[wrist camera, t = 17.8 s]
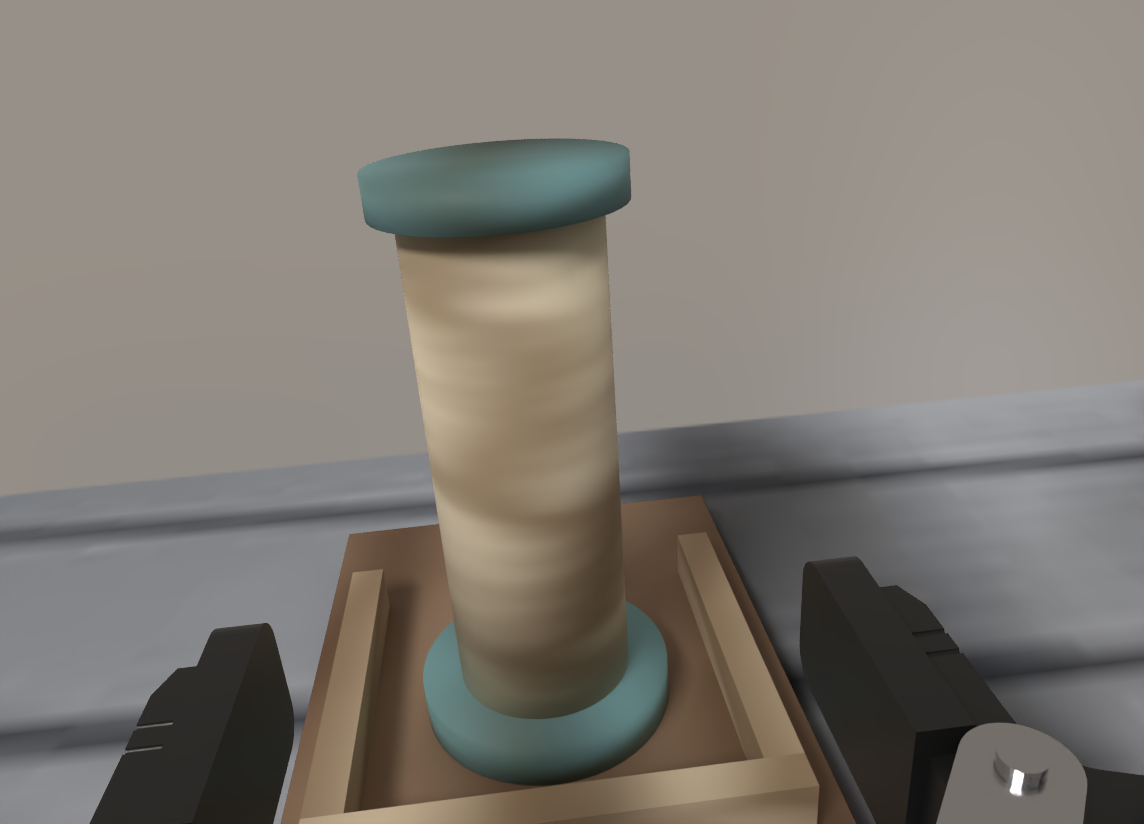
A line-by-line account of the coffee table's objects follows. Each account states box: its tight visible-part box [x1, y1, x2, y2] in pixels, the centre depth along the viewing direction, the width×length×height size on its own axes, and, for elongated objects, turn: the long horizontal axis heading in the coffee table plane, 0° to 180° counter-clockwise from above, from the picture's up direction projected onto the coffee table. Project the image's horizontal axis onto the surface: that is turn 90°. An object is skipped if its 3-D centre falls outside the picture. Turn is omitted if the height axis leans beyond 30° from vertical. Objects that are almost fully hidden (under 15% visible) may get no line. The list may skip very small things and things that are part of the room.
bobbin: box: [357, 139, 668, 786], centre depth 23 cm, size 7×7×15 cm
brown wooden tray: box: [281, 495, 856, 824], centre depth 26 cm, size 14×20×3 cm
